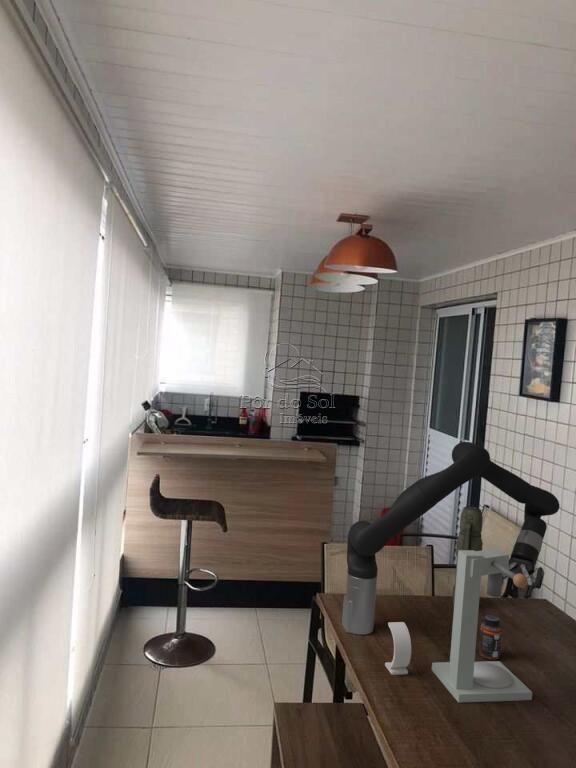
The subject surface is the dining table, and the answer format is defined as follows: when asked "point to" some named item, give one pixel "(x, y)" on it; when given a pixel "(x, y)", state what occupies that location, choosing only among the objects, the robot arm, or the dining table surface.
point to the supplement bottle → (490, 638)
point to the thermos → (469, 533)
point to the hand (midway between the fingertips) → (511, 594)
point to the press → (462, 670)
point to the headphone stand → (400, 648)
